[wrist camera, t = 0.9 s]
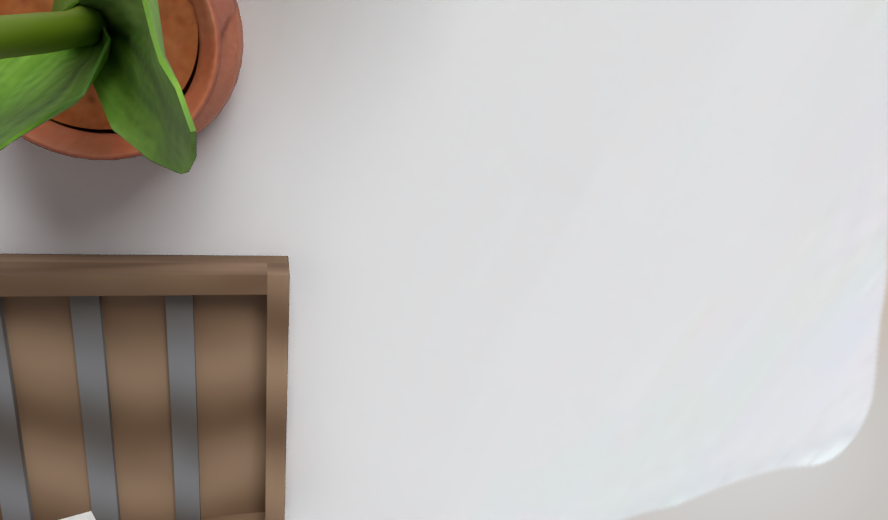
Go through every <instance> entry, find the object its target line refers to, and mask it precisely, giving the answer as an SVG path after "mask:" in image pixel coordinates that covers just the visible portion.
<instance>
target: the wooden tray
mask: <svg viewBox="0 0 888 520" xmlns="http://www.w3.org/2000/svg"><path fill="white" fill-rule="evenodd" d="M289 280H290V274H289V262H288V256H209V255H82V254H0V520H60V519H64V518H67V517H71V516H75V515H78V514H82V513H85V512H89V511H91V512H92V513H93V515H94V517H95V519H96V520H284V515H285V468H286V421H287V374H288V327H289Z"/></svg>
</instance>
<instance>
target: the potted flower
mask: <svg viewBox="0 0 888 520" xmlns="http://www.w3.org/2000/svg"><path fill="white" fill-rule="evenodd" d="M242 54H243V30H242V22H241V17H240V13H239V8H238V4H237V1H236V0H0V151H1V150H2V149H3V148H5V147H6V146H7V145H8V144H9V143H11V142H13V141H14V140H16V139H18V138H20V137H22V138H24V139H25V140H27V141H29V142H31V143H33V144H35V145H38V146H40V147H43V148H45V149H47V150H50V151H53V152H56V153H60V154H64V155H67V156H71V157H77V158H84V159H91V160H117V159H123V158H130V157H135V156H141V155H144V156H145V157H147V158H148V159H149V160H151V161H152V162H154V163H156V164H159V165H161V166H163V167H166V168H168V169H170V170H172V171H175V172H177V173H181V174H182V173H186V172H189V170H190V168H191V166H192V164H193V162H194V160H195V158H196V134H197V133H198V132H200V131H201V130H203V129H204V128H205V127H207V126H208V125H209V124H210V123H211V122H212V121H213V119H214V118H215V117H216V116H217V115H218V114H219V113H220V112H221V110H222V109H223V107H224V106H225V104H226V103H227V101H228V100H229V98H230V96H231V94H232V91H233V89H234V87H235V85H236V83H237V79H238V75H239V71H240V68H241V63H242Z"/></svg>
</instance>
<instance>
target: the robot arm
mask: <svg viewBox="0 0 888 520" xmlns="http://www.w3.org/2000/svg"><path fill="white" fill-rule="evenodd" d="M60 520H96V519H95V517H94V515H93V513H92V512H91V511H89V512H85V513H82V514H78V515H75V516H71V517H67V518H64V519H60Z"/></svg>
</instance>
